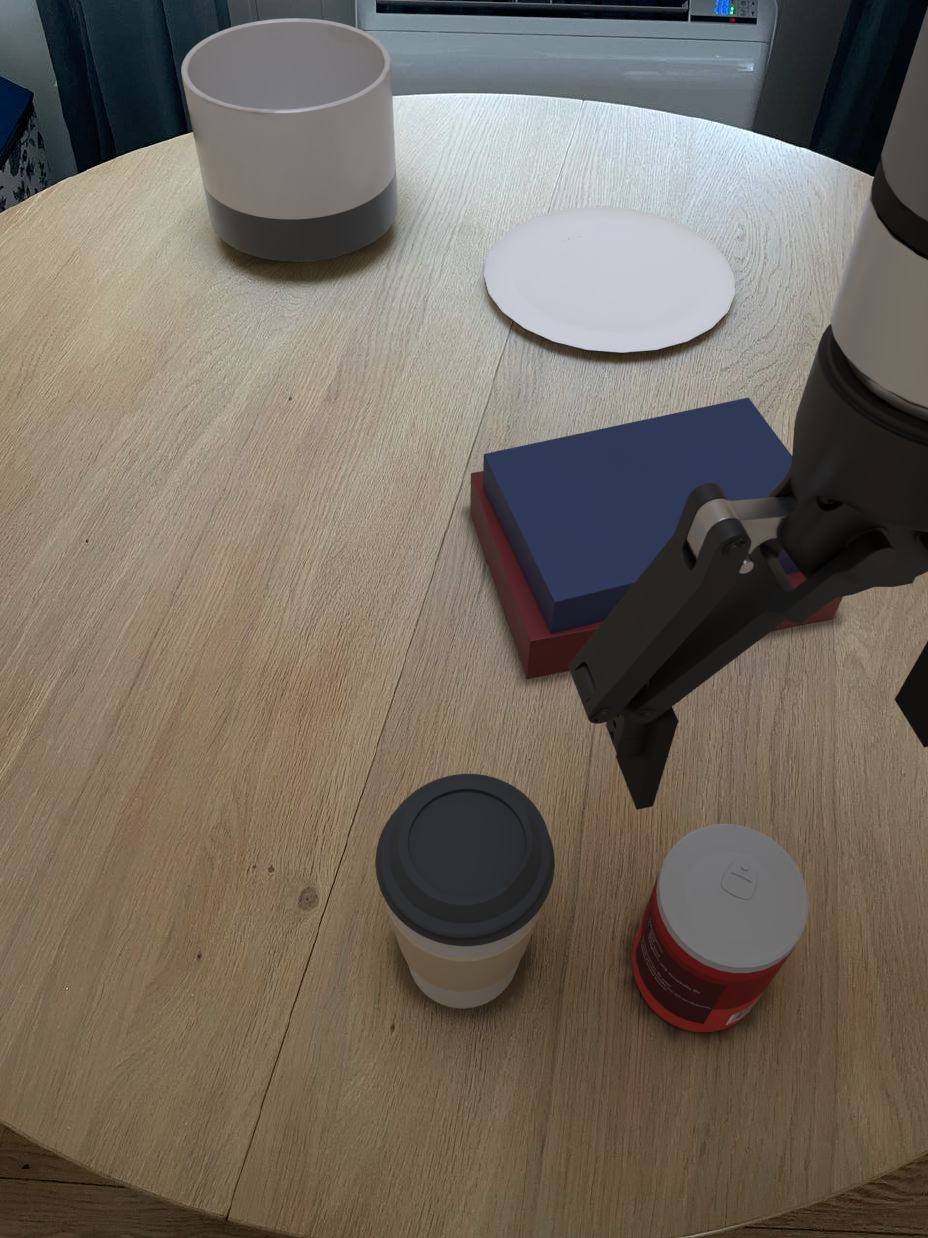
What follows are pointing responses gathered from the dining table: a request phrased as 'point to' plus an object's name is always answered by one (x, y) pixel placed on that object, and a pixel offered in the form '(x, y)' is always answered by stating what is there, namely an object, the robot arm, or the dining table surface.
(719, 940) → the canned food
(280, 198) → the planter
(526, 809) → the coffee cup
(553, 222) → the plate
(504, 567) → the book stack
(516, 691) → the dining table surface
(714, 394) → the dining table surface
